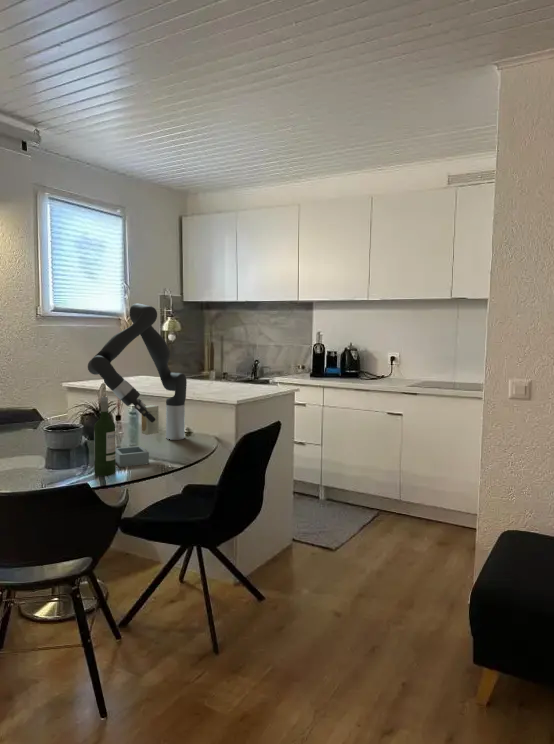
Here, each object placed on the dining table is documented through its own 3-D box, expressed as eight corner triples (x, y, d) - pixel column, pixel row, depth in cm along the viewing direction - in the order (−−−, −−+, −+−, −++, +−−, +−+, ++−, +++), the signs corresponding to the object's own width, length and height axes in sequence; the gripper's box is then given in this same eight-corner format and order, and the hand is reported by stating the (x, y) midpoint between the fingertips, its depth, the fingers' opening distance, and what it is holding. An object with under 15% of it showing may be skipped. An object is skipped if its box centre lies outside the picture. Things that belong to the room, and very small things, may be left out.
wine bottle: (114, 475, 208) (113, 398, 205) (92, 476, 206) (91, 399, 203) (116, 470, 215) (116, 395, 212) (96, 470, 214) (95, 395, 211)
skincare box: (153, 431, 239) (154, 404, 238) (159, 433, 236) (159, 405, 235) (140, 433, 234) (141, 405, 233) (146, 435, 231) (146, 407, 230)
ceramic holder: (113, 459, 230) (112, 448, 229) (141, 456, 236) (141, 445, 235) (119, 467, 220) (119, 455, 219) (148, 463, 225) (148, 452, 225)
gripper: (132, 388, 224) (160, 416, 228) (132, 384, 238) (159, 410, 242) (119, 401, 223) (147, 428, 227) (120, 396, 237) (147, 422, 241)
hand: (153, 419), depth 235 cm, fingers closed on skincare box, 6 cm apart
